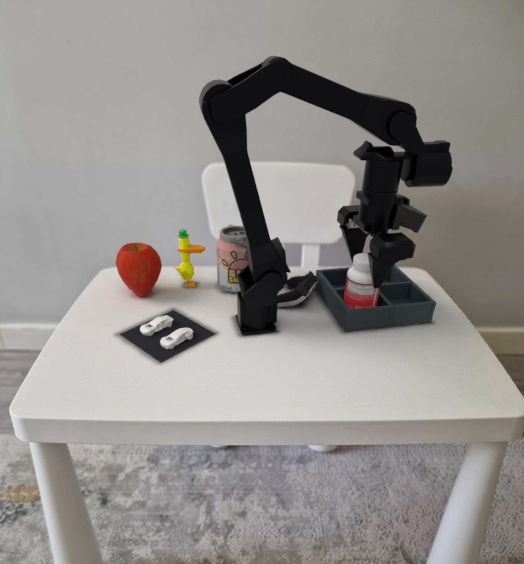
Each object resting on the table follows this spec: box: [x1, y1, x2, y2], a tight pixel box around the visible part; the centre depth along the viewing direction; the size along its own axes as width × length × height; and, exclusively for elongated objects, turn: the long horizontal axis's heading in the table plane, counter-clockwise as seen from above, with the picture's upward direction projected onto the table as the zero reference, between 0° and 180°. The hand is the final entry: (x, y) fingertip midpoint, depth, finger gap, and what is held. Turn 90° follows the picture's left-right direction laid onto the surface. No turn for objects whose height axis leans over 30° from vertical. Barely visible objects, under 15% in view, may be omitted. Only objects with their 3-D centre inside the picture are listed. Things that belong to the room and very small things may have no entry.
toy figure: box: [173, 228, 206, 288], centre depth 93 cm, size 7×4×12 cm, turn 89°
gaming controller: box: [275, 270, 318, 308], centre depth 91 cm, size 11×4×7 cm
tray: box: [314, 264, 437, 333], centre depth 90 cm, size 17×17×4 cm
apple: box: [115, 242, 163, 297], centre depth 90 cm, size 9×8×11 cm
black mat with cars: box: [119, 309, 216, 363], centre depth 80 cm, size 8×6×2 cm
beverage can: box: [215, 224, 248, 294], centre depth 93 cm, size 9×8×12 cm
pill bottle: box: [344, 252, 380, 309], centre depth 83 cm, size 6×6×11 cm
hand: (365, 276), depth 82 cm, fingers open, 9 cm apart
